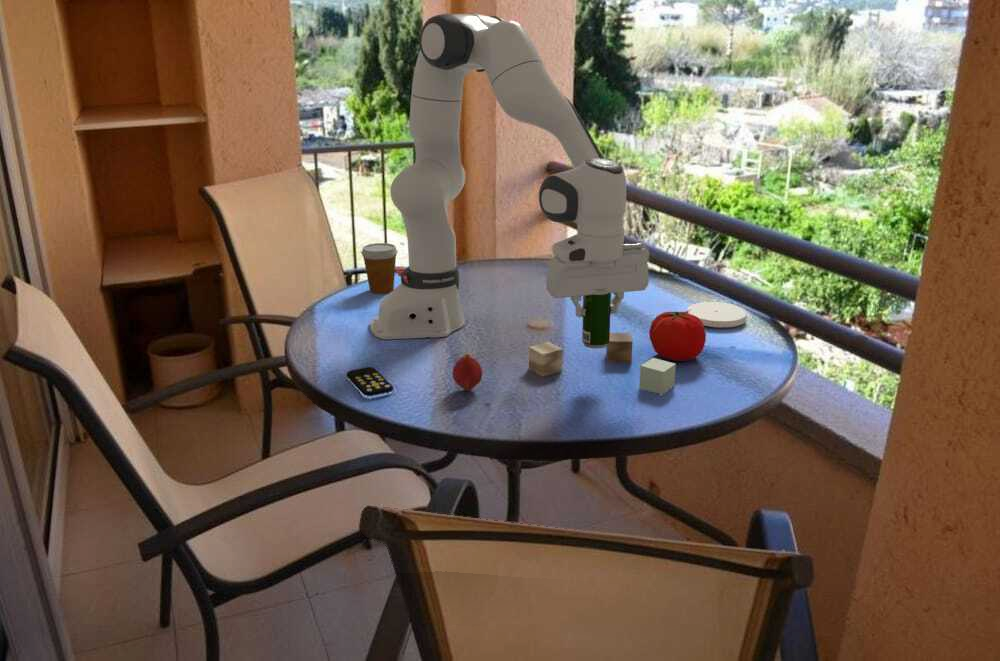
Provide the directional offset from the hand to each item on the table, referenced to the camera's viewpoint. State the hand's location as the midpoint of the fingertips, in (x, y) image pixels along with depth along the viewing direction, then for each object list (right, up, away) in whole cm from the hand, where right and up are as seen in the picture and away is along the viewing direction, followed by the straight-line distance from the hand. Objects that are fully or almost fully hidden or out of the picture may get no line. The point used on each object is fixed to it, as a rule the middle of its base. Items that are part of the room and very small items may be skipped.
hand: (596, 314), depth 165 cm
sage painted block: (+12, -14, +1) cm, 19 cm away
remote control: (-45, -15, +4) cm, 47 cm away
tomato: (+19, -9, +16) cm, 26 cm away
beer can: (0, -6, +2) cm, 6 cm away
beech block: (-9, -11, +10) cm, 18 cm away
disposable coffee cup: (-51, +7, +61) cm, 80 cm away
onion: (-25, -15, +1) cm, 29 cm away
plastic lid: (+33, -1, +37) cm, 50 cm away
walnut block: (+7, -9, +15) cm, 19 cm away
